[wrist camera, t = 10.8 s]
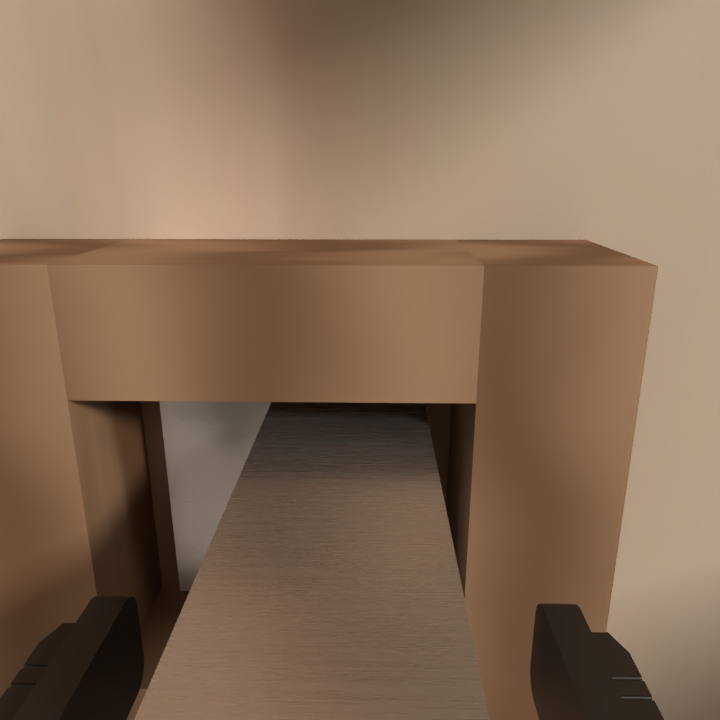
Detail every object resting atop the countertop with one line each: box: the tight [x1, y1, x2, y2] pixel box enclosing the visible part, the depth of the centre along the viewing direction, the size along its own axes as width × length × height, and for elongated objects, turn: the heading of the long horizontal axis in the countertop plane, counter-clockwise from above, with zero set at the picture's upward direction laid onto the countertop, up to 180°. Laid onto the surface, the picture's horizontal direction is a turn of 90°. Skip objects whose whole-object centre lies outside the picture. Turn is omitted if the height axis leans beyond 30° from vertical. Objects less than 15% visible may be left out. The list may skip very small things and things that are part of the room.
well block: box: [0, 239, 658, 720], centre depth 17 cm, size 16×14×4 cm
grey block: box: [134, 401, 489, 720], centre depth 13 cm, size 7×6×12 cm
